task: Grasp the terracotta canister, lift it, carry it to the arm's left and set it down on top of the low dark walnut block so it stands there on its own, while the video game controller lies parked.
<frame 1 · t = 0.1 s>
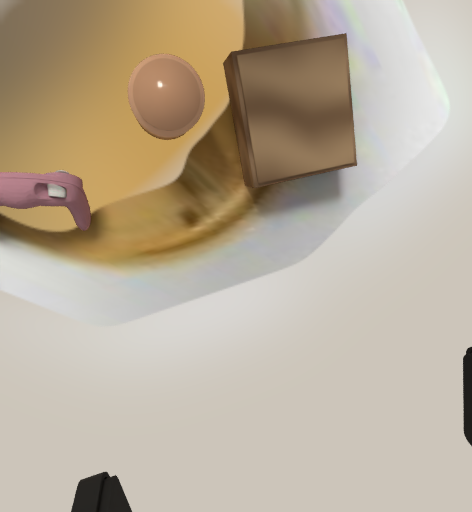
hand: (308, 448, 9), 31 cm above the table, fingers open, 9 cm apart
canister: (165, 107, 35), on the table
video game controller: (39, 199, 35), on the table
walnut block: (284, 117, 37), on the table
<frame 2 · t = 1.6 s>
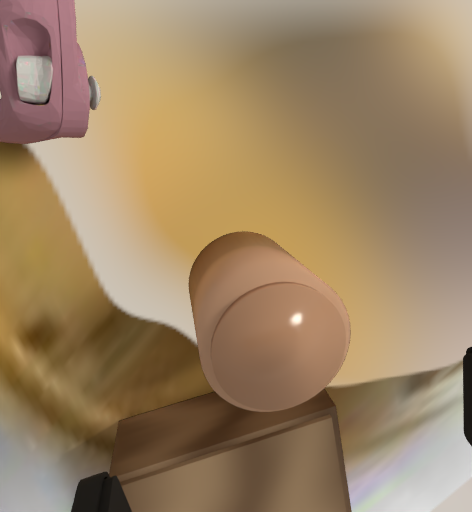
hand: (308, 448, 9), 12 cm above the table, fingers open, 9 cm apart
canister: (241, 283, 20), on the table
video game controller: (35, 26, 15), on the table
walnut block: (234, 458, 23), on the table
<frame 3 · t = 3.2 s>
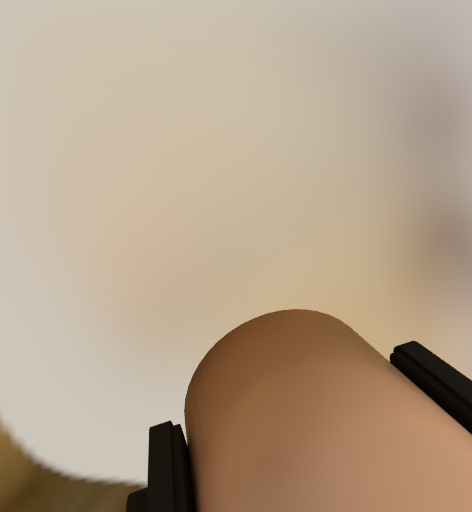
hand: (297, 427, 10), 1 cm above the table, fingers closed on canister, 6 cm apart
canister: (283, 400, 11), on the table, touching gripper
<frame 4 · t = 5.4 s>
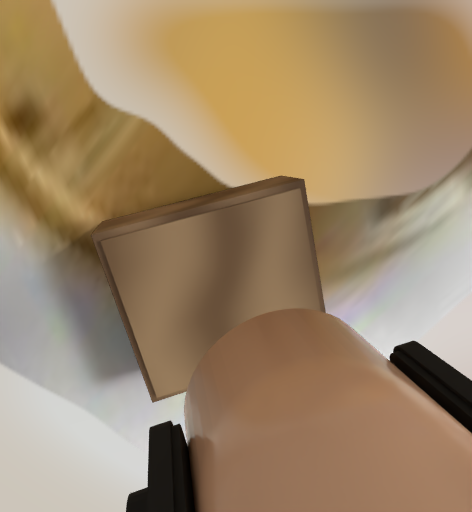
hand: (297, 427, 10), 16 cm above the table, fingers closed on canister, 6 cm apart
canister: (283, 399, 11), point 15 cm above the table, touching gripper
walnut block: (214, 274, 25), on the table
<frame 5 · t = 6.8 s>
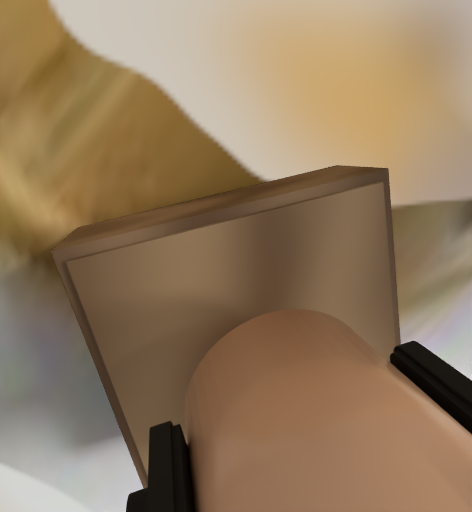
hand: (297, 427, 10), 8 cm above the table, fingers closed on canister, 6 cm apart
canister: (283, 400, 11), point 7 cm above the table, touching gripper
walnut block: (238, 303, 18), on the table
when the fingers open (6 cm above the table, at t = 7.7 s): canister stays where it is, resting on walnut block.
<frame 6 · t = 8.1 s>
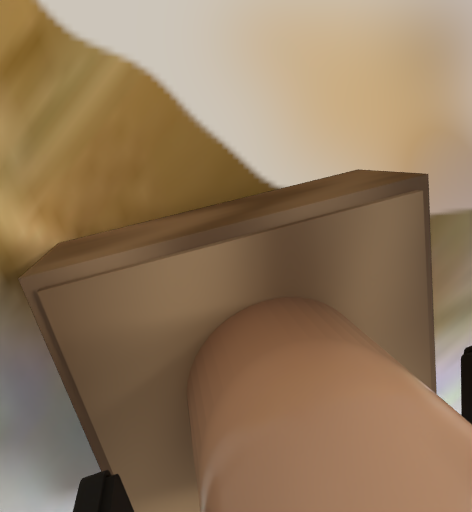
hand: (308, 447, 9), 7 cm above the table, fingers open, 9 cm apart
canister: (280, 384, 11), point 4 cm above the table, touching walnut block
walnut block: (245, 327, 15), on the table
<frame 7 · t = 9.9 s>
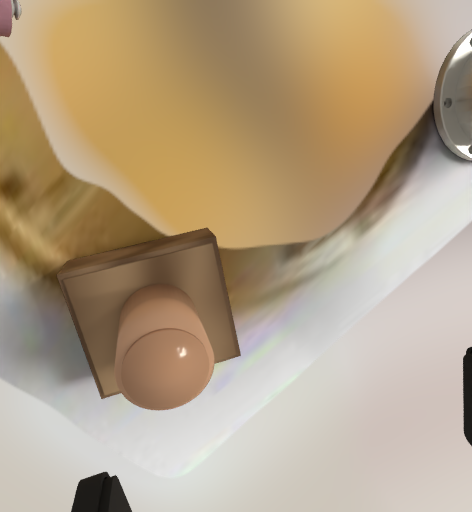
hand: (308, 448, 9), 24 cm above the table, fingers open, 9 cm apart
canister: (159, 319, 28), point 4 cm above the table, touching walnut block
walnut block: (156, 300, 32), on the table
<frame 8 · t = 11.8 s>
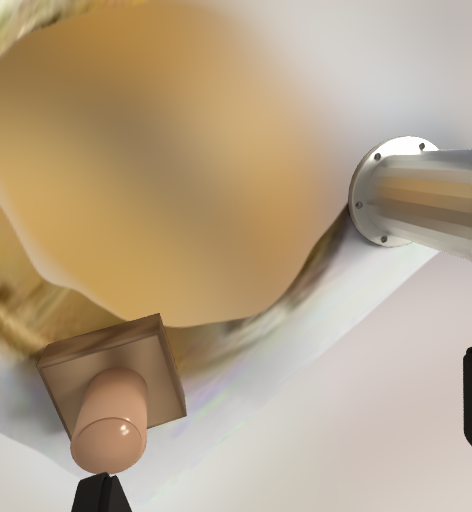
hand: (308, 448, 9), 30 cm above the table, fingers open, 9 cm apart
canister: (117, 393, 36), point 4 cm above the table, touching walnut block
walnut block: (120, 370, 40), on the table
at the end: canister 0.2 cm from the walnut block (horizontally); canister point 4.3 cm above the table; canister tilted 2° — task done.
